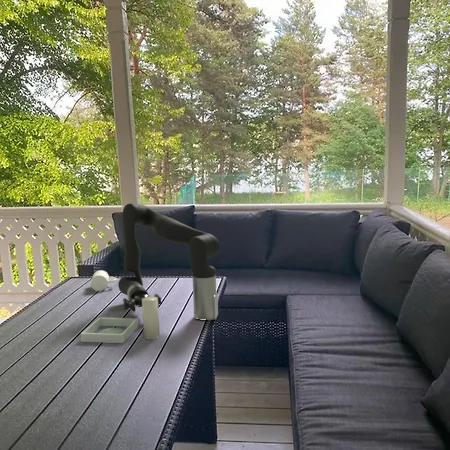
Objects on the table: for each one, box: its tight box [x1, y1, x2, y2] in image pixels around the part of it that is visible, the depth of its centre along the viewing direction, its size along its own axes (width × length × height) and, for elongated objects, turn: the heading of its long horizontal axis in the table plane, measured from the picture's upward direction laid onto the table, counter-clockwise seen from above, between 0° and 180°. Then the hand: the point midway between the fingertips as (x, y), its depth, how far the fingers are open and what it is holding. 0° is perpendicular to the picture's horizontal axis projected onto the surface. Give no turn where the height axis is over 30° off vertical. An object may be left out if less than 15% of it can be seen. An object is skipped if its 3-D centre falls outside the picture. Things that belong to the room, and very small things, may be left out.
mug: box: [90, 269, 118, 292], centre depth 220 cm, size 12×10×8 cm
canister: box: [141, 295, 161, 340], centre depth 159 cm, size 6×6×14 cm
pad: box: [98, 327, 124, 334], centre depth 163 cm, size 9×9×1 cm
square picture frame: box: [80, 317, 139, 344], centre depth 163 cm, size 16×16×3 cm
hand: (145, 307), depth 167 cm, fingers open, 8 cm apart
